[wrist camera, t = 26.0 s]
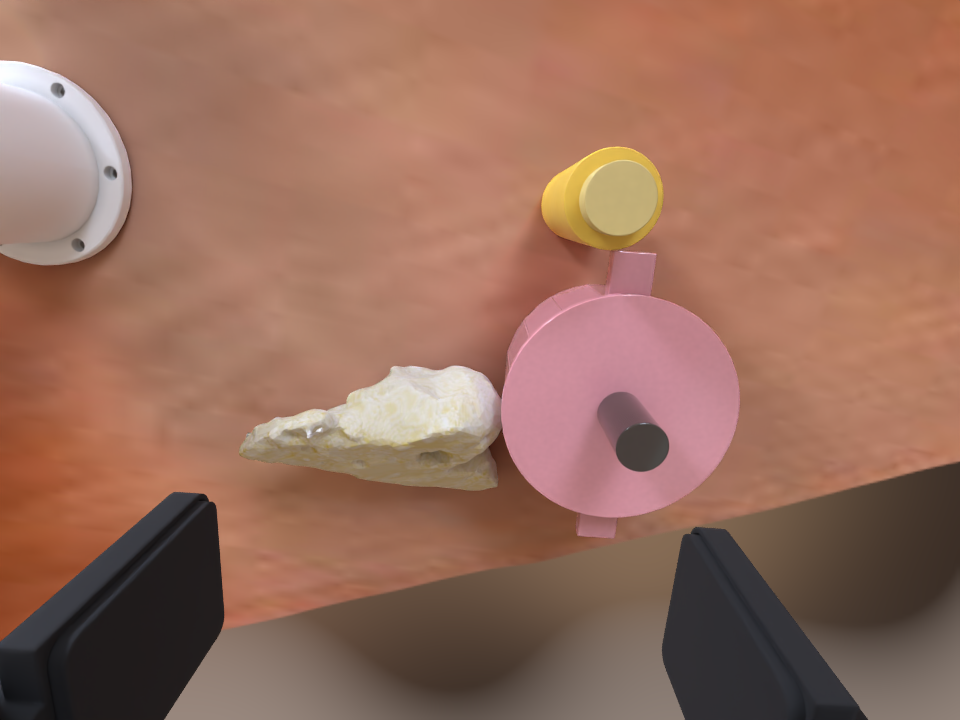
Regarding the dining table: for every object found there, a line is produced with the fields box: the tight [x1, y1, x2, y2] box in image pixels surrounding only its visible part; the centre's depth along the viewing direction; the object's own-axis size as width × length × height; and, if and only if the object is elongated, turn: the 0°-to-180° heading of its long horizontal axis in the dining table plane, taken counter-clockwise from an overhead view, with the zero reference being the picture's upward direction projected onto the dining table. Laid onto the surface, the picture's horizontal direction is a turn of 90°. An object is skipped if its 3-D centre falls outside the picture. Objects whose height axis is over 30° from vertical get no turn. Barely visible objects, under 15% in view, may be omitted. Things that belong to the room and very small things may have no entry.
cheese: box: [239, 365, 502, 491], centre depth 37 cm, size 15×7×15 cm
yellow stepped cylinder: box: [541, 147, 663, 250], centre depth 30 cm, size 5×5×13 cm
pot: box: [505, 250, 657, 539], centre depth 35 cm, size 13×18×8 cm
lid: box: [501, 293, 740, 518], centre depth 29 cm, size 14×14×6 cm
